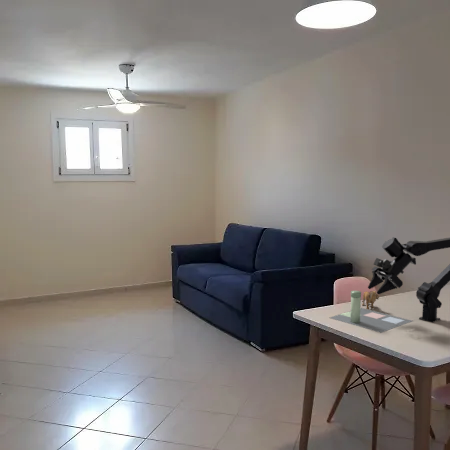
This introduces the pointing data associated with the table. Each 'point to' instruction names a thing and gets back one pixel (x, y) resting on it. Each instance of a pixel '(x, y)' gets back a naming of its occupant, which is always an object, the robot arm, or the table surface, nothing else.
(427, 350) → the table surface
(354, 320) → the pale green cylinder
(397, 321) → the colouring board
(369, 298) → the lion figurine
